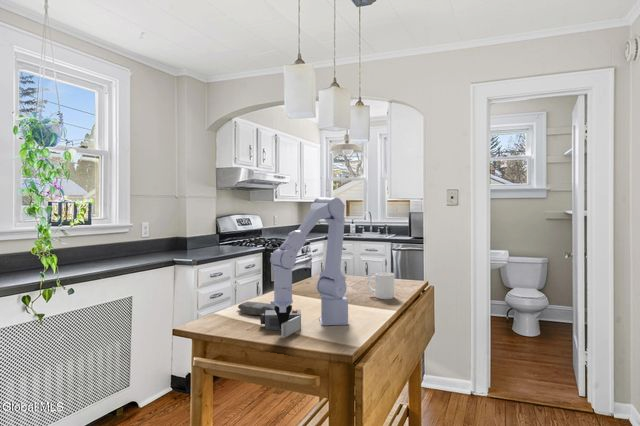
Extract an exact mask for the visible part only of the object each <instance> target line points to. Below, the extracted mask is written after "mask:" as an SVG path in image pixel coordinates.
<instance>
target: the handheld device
mask: <svg viewBox="0 0 640 426" xmlns="http://www.w3.org/2000/svg"><path fill="white" fill-rule="evenodd" d="M275 306H277V305H275V304H274V303H271V302H270V303H267V302H259V301H245V302H242V303H239V304H238V306H237V307H238V309H239V310H240V313H241V314H245V315H252V316H253V315H254V316H261V314H265V312H266V310H275V309H274V307H275Z"/></svg>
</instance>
